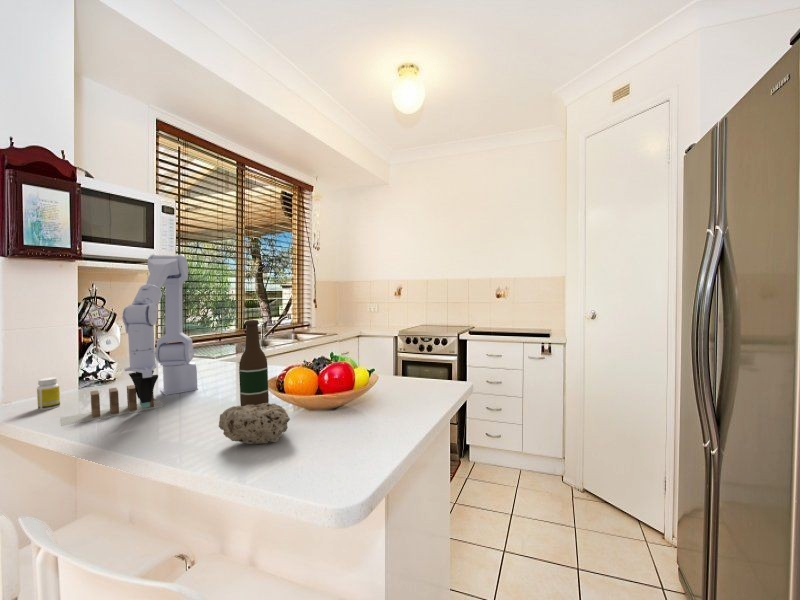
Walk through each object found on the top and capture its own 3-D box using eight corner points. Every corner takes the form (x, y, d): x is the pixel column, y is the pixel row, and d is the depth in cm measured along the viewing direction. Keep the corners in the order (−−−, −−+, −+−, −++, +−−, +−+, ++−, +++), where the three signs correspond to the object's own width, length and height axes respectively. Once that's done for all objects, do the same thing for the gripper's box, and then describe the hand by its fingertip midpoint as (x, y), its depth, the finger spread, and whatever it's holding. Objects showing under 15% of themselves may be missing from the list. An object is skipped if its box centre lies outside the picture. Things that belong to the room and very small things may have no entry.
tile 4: (99, 412, 106) (97, 390, 106) (100, 416, 103) (99, 393, 102) (91, 413, 105) (90, 391, 105) (92, 418, 101) (91, 394, 101)
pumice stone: (218, 458, 76) (216, 417, 76) (220, 436, 87) (219, 401, 87) (292, 445, 81) (290, 407, 81) (285, 426, 92) (284, 393, 92)
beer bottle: (246, 413, 103) (242, 322, 102) (235, 407, 109) (232, 320, 108) (274, 407, 108) (271, 319, 107) (263, 401, 114) (260, 318, 113)
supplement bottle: (64, 405, 114) (63, 376, 114) (48, 410, 109) (47, 380, 109) (49, 405, 115) (48, 376, 114) (33, 410, 110) (31, 380, 110)
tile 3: (117, 409, 109) (116, 387, 109) (119, 413, 105) (118, 390, 105) (110, 410, 108) (108, 388, 108) (111, 414, 104) (110, 391, 104)
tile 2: (134, 405, 111) (133, 384, 111) (137, 409, 108) (136, 388, 108) (127, 407, 110) (126, 386, 110) (129, 411, 107) (128, 389, 106)
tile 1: (151, 402, 114) (150, 382, 114) (154, 406, 110) (153, 385, 110) (144, 404, 113) (143, 383, 113) (147, 407, 109) (146, 386, 109)
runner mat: (158, 400, 117) (158, 400, 117) (164, 406, 110) (164, 406, 110) (60, 418, 102) (60, 417, 102) (61, 426, 96) (60, 425, 96)
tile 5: (146, 402, 107) (145, 381, 107) (149, 406, 104) (148, 384, 104) (139, 404, 106) (138, 382, 106) (142, 408, 103) (141, 385, 103)
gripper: (120, 348, 107) (123, 397, 108) (127, 354, 96) (130, 409, 97) (150, 345, 112) (153, 392, 113) (160, 351, 101) (163, 403, 102)
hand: (144, 400), depth 105 cm, fingers closed on tile 5, 5 cm apart
